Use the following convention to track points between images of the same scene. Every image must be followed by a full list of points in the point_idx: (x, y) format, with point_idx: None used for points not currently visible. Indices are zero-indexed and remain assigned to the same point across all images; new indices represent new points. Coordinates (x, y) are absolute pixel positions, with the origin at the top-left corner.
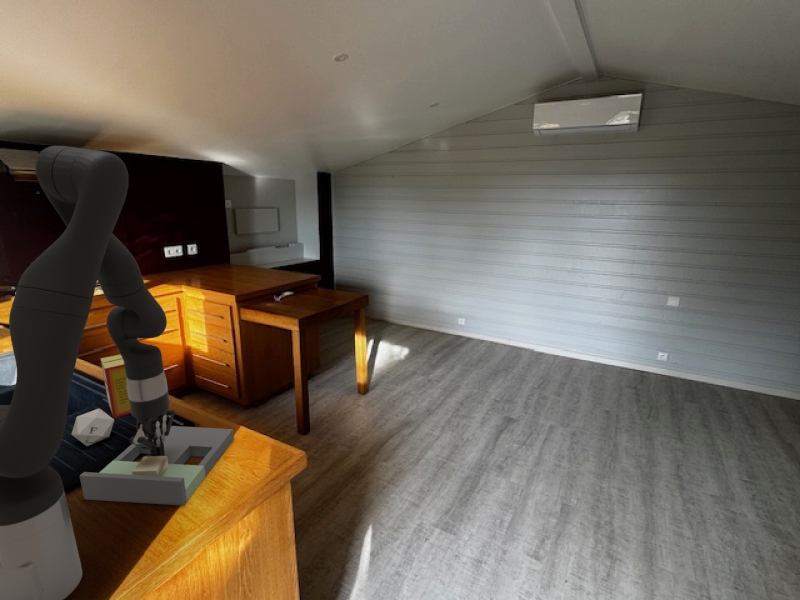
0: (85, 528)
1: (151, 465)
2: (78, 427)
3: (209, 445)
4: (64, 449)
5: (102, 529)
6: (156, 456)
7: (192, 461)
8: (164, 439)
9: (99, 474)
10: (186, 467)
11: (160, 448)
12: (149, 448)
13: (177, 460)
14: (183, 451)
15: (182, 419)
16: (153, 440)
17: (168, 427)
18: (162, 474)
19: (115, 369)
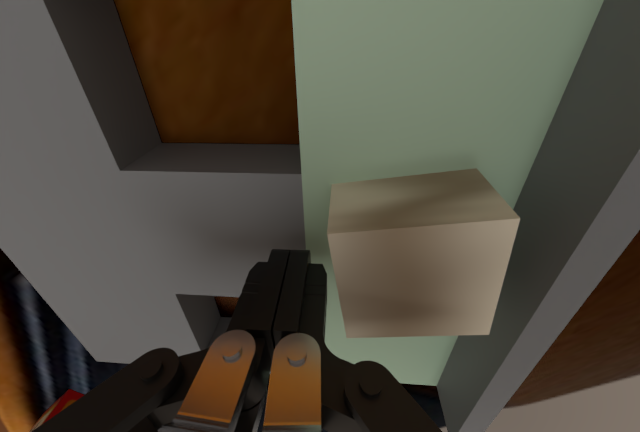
0: (597, 286)
1: (444, 273)
2: None
3: (32, 17)
4: (259, 428)
5: (633, 239)
6: (340, 288)
7: (192, 109)
8: (224, 349)
9: (482, 414)
10: (327, 54)
11: (288, 310)
12: (413, 406)
13: (256, 169)
14: (179, 176)
15: (6, 291)
16: (262, 395)
17: (94, 426)
18: (413, 179)
19: None
